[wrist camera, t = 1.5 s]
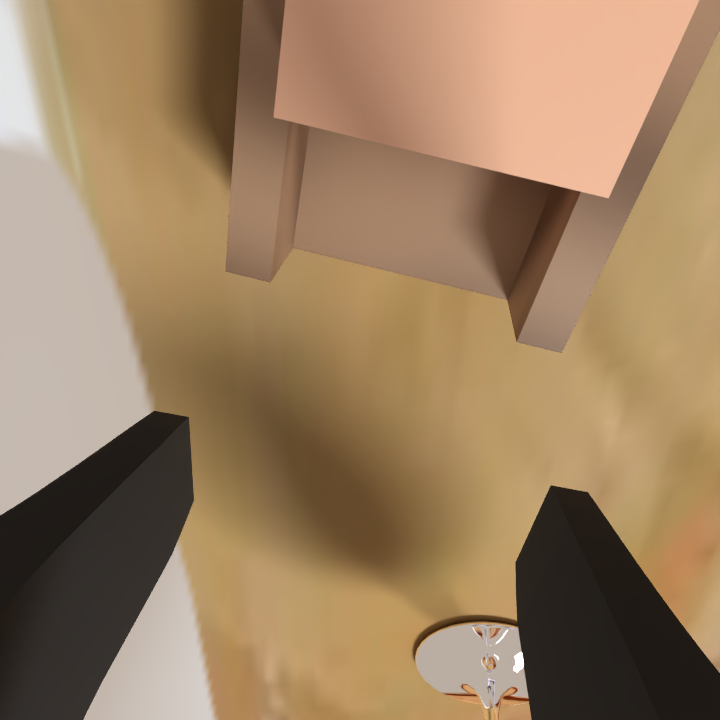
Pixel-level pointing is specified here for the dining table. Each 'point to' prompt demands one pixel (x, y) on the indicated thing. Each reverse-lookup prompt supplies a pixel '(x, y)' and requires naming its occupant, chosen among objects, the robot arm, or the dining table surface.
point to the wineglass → (475, 664)
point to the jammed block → (484, 78)
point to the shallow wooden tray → (431, 197)
